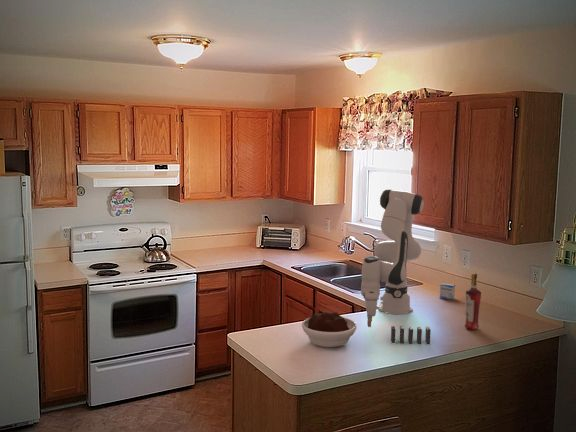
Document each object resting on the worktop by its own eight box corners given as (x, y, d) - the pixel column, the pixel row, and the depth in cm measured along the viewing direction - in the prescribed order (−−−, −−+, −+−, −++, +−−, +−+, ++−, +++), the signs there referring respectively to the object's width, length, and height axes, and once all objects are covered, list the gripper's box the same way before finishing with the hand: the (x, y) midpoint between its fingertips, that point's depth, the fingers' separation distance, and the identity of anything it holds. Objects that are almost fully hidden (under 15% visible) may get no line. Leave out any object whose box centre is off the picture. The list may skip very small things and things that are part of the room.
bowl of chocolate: (322, 331, 290) (323, 301, 288) (366, 342, 274) (367, 311, 272) (290, 344, 271) (291, 312, 269) (335, 357, 255) (336, 324, 253)
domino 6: (425, 341, 277) (425, 326, 276) (428, 341, 277) (428, 326, 276) (426, 344, 273) (427, 329, 272) (430, 344, 273) (430, 329, 272)
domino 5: (416, 340, 277) (417, 326, 276) (419, 341, 277) (420, 326, 276) (418, 344, 273) (418, 329, 272) (421, 344, 273) (421, 329, 272)
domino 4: (408, 340, 277) (408, 326, 276) (411, 340, 277) (411, 326, 276) (409, 343, 273) (410, 329, 272) (412, 344, 273) (413, 329, 272)
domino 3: (399, 340, 277) (399, 326, 276) (402, 340, 277) (402, 326, 276) (400, 343, 273) (401, 329, 272) (403, 343, 273) (404, 329, 272)
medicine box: (439, 298, 350) (439, 284, 349) (441, 296, 354) (441, 282, 353) (452, 300, 346) (453, 285, 345) (454, 298, 350) (455, 284, 349)
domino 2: (390, 340, 278) (391, 326, 277) (393, 340, 278) (394, 326, 277) (392, 343, 273) (392, 328, 272) (395, 343, 273) (395, 329, 272)
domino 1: (367, 324, 284) (367, 310, 283) (370, 324, 284) (370, 310, 283) (368, 327, 280) (368, 312, 279) (371, 327, 280) (371, 312, 279)
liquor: (460, 327, 298) (463, 272, 294) (472, 325, 300) (475, 271, 296) (470, 331, 291) (473, 276, 287) (482, 330, 293) (485, 274, 290)
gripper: (362, 284, 290) (361, 312, 292) (365, 297, 269) (364, 326, 272) (375, 285, 289) (374, 312, 291) (379, 297, 269) (378, 326, 271)
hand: (369, 319), depth 281 cm, fingers closed on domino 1, 4 cm apart
